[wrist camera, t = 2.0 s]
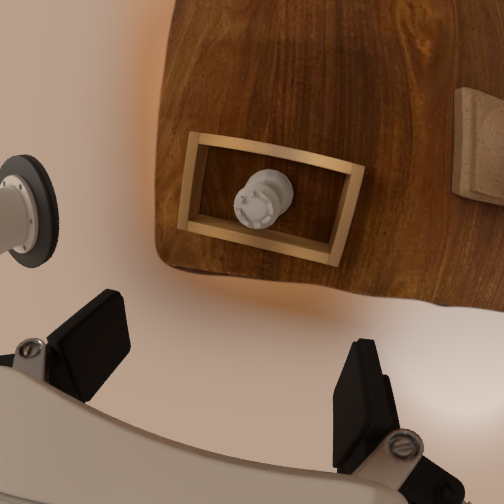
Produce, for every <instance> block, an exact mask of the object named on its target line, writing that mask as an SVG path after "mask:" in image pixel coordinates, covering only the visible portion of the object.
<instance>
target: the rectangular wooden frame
mask: <svg viewBox="0 0 504 504" xmlns="http://www.w3.org/2000/svg"><path fill="white" fill-rule="evenodd" d="M209 145H210V146H217V147H223V148H229V149H235V150H241V151H247V152H252V153H258V154H263V155H268V156H273V157H278V158H283V159H288V160H292V161H297V162H301V163H306V164H310V165H314V166H318V167H322V168H326V169H330V170H334V171H338V172H342V173H346V177H345V181H344V186H343V190H342V194H341V198H340V202H339V206H338V210H337V214H336V217H335V221H334V225H333V229H332V232H331V236H330V240H329V243H324V242H320V241H315V240H311V239H307V238H303V237H299V236H295V235H291V234H286V233H282V232H278V231H274V230H269V229H265V228H264V229H258V230H257V229H252V228H248V227H247V226H245V225H244V224H242V223H239V222H235V221H230V220H226V219H221V218H217V217H212V216H208V215H203V214H199V210H200V203H201V196H202V189H203V182H204V175H205V168H206V162H207V156H208V150H209ZM364 170H365V166H362V165H358V164H355V163H351V162H348V161H344V160H340V159H336V158H332V157H328V156H324V155H320V154H316V153H312V152H308V151H303V150H299V149H294V148H289V147H285V146H280V145H275V144H270V143H264V142H259V141H253V140H247V139H241V138H235V137H229V136H222V135H215V134H207V133H199V132H190V133H189V139H188V145H187V152H186V159H185V166H184V173H183V181H182V188H181V197H180V205H179V215H178V224H177V229H181V230H185V231H190V232H194V233H198V234H202V235H206V236H211V237H215V238H219V239H223V240H228V241H232V242H236V243H240V244H244V245H249V246H253V247H257V248H261V249H265V250H270V251H274V252H278V253H282V254H286V255H290V256H294V257H299V258H303V259H307V260H311V261H315V262H319V263H323V264H328V265H331V266H336V267H338V266H339V262H340V259H341V256H342V253H343V249H344V246H345V242H346V239H347V236H348V232H349V229H350V225H351V221H352V218H353V214H354V210H355V207H356V203H357V199H358V195H359V191H360V187H361V183H362V179H363V175H364Z"/></svg>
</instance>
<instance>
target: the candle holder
mask: <svg viewBox="0 0 504 504" xmlns="http://www.w3.org/2000/svg"><path fill="white" fill-rule="evenodd" d="M454 119H455V132H454V161H453V175H452V193H454V194H456V195H459V196H462V197H465V198H469V199H473V200H478V201H483V202H488V203H493V204H497V205H502V206H504V101H503V100H501V99H499V98H496V97H494V96H491V95H489V94H486V93H483V92H481V91H478V90H474V89H471V88H467V87H462V88H458V89H455V91H454Z"/></svg>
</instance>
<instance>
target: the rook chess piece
mask: <svg viewBox="0 0 504 504" xmlns="http://www.w3.org/2000/svg"><path fill="white" fill-rule="evenodd" d="M292 198H293V189H292V184H291V183H290V181H289V180H288V178H287V177H286V176H285V175H284V174H282V173H281V172H279V171H276V170H271V169H266V170H261V171H258V172H257V173H255V174H254V175H252V176H251V177H250V179H249V180H248V182H247V183H246V185H245V187H244V188H243V189H241V190H240V191H239V193H238V194H237V196H236V197H235V202H234V210H235V214H236V216H237V218H238V219H239V221H240V222H241V223H242V224H244V225H245V226H247V227H248V228H252V229H257V230H258V229H264V228H267V227H268V226H270V225H272V224H273V223H274V222H275V220H276V219H277V217H278V216H279V215H281V214H282V213H284V212H285V211H286V210H287V209H288V207H289V206H290V204H291V203H292Z"/></svg>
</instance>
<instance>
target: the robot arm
mask: <svg viewBox="0 0 504 504" xmlns="http://www.w3.org/2000/svg"><path fill="white" fill-rule="evenodd" d="M38 227H39V224H38V212H37V207H36V202H35V199H34V196H33V193H32V191H31V189H30V187H29V185H28V184H27V182H26V181H25V180H24V179H23V178H22V177H21V176H19V175H10V176H7V177H6V178H4V180H3V181H2V183H1V185H0V254H2V253H4V252H6V251H8V250H10V249H13V250H15V251H16V252H18V253H26V252H28V251H30V250H31V249H32V248H33V247H34V245H35V243H36V241H37V236H38ZM47 341H48V343H47V344H46V345H45V343H44V341H42V340H41V339H38V338H30V339H26V340H24V341H22V342H21V343H20V344H19V345H18V346H17V348H16V351H15V354H9V355H1V356H0V504H471V503H470V502H468V503H466V502H465V501H464V497H465V489H464V486H463V484H462V483H461V482H460V481H459V480H458V479H457V478H455V477H454V476H452V475H451V474H449V473H448V472H446V471H445V470H443V469H442V468H441V467H439V466H438V465H436V464H435V463H433V462H432V461H430V460H429V459H428V458H426V457H425V456H423V455H422V454H423V452H424V444H423V441H422V439H421V438H420V436H419V435H418V434H416V433H415V432H413V431H411V430H409V429H400V425H399V420H398V415H397V410H396V405H395V400H394V396H393V392H392V387H391V383H390V379H389V377H388V376H387V375H383V374H382V370H381V367H380V362H379V358H378V354H377V350H376V346H375V342H374V340H370V339H361V338H360V339H358V341H357V342H353V343H352V346H351V349H350V351H349V354H348V356H347V359H346V362H345V364H344V367H343V370H342V372H341V375H340V377H339V380H338V382H337V385H336V387H335V390H334V394H333V467H334V468H337V473H332V472H323V471H316V470H315V471H314V470H305V469H298V468H290V467H283V466H277V465H271V464H265V463H259V462H254V461H249V460H244V459H239V458H235V457H229V456H225V455H222V454H217V453H214V452H210V451H206V450H202V449H199V448H195V447H192V446H188V445H185V444H182V443H179V442H176V441H173V440H170V439H167V438H164V437H161V436H159V435H156V434H153V433H150V432H148V431H145V430H143V429H140V428H137V427H134V426H133V425H130V424H128V423H125V422H123V421H120V420H118V419H116V418H114V417H111V416H109V415H107V414H105V413H103V412H101V411H99V410H97V409H95V408H93V407H91V406H89V405H87V404H85V402H86V401H87V402H88V401H90V400H91V398H92V397H93V396H94V395H95V393H96V392H97V391H98V390H99V388H100V387H101V386H102V385H103V384H104V382H105V381H106V380H107V379H108V377H109V376H110V375H111V374H112V373H113V371H114V370H115V369H116V367H117V366H118V365H119V364H120V363H121V362H122V360H123V359H124V358H125V357H126V355H127V354H128V353H129V351H130V348H131V344H130V339H129V332H128V326H127V320H126V313H125V306H124V299H123V297H122V296H121V294H120V292H118V291H115V290H111V289H106V290H104V291H103V292H102V293H100V294H99V295H98V296H97V297H95V298H94V299H93V300H92V301H90V302H89V303H88V304H86V305H85V306H84V307H83V308H81V309H80V310H79V311H78V312H77V313H75V314H74V315H73V316H72V317H71V318H69V319H68V320H67V321H66V322H64V323H63V324H62V325H61V326H60V327H58V328H57V329H56V330H55V331H54V332H52V333H51V334H50V335H49V336H48V337H47Z"/></svg>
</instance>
